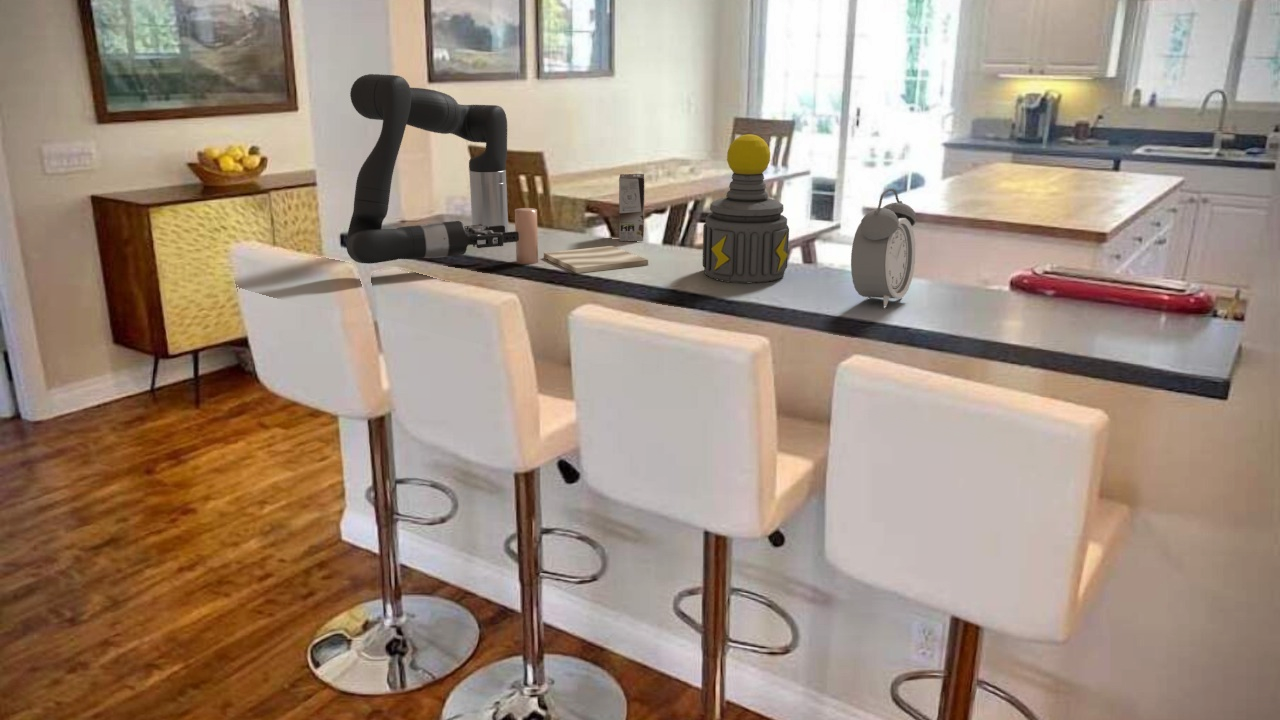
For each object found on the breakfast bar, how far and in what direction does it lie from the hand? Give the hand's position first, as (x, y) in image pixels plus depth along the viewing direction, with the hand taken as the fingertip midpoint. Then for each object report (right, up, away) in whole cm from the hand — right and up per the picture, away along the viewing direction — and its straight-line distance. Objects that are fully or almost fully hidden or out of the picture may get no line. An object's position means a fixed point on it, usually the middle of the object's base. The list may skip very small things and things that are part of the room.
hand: (511, 233), depth 216 cm
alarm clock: (+76, -17, -29) cm, 84 cm away
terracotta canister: (+3, -6, +4) cm, 8 cm away
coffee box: (+27, +3, +32) cm, 42 cm away
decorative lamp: (+52, -10, -7) cm, 54 cm away
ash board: (+19, -6, +4) cm, 20 cm away
